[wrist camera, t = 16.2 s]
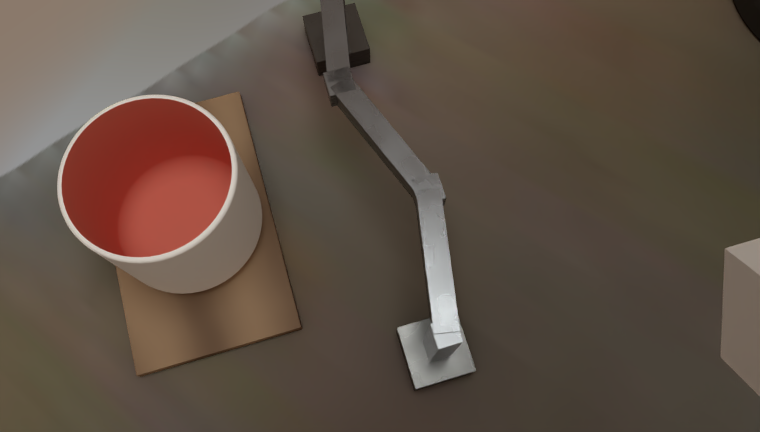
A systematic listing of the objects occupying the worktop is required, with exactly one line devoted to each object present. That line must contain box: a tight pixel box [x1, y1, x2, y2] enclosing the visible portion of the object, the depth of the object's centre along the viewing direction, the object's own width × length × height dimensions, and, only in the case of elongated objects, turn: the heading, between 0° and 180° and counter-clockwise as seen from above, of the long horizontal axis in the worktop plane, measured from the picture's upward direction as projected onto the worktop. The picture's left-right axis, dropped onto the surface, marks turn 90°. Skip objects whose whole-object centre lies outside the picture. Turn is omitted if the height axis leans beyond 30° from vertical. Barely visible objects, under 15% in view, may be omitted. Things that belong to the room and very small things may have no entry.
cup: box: [57, 95, 262, 294], centre depth 44 cm, size 10×10×10 cm
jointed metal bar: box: [303, 0, 476, 391], centre depth 46 cm, size 5×28×10 cm, turn 17°
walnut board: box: [116, 92, 302, 377], centre depth 49 cm, size 11×18×1 cm, turn 17°
